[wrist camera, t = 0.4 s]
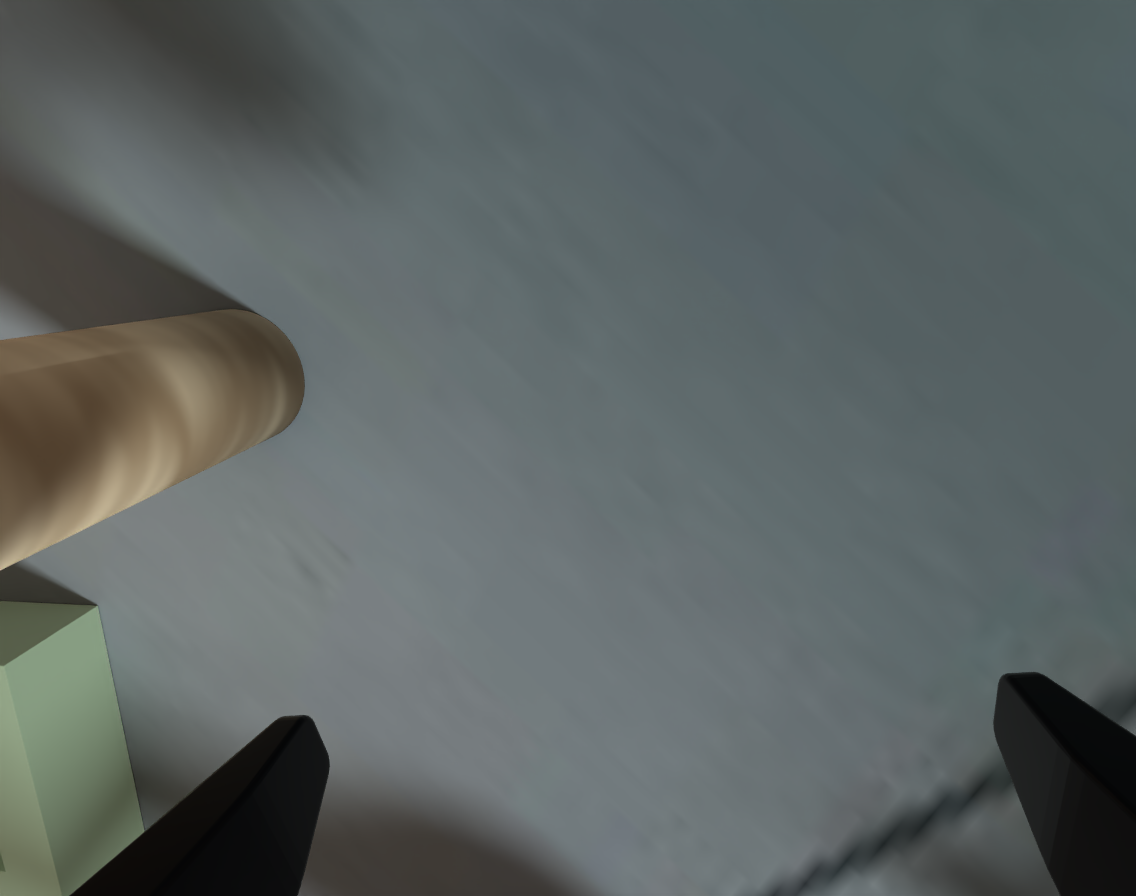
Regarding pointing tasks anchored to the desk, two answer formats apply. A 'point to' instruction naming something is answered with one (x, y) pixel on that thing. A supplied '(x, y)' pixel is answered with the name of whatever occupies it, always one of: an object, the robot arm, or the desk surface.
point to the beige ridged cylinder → (131, 415)
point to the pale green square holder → (59, 751)
